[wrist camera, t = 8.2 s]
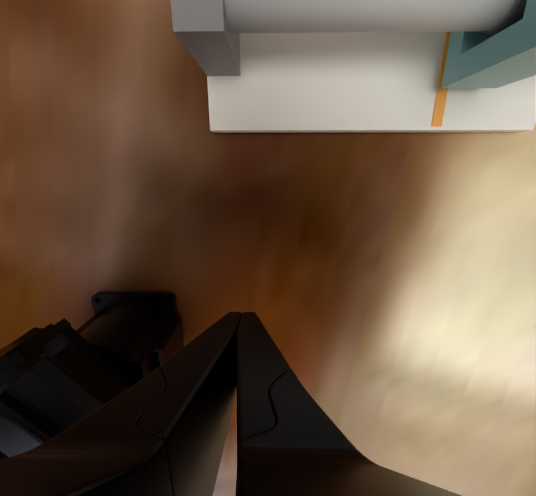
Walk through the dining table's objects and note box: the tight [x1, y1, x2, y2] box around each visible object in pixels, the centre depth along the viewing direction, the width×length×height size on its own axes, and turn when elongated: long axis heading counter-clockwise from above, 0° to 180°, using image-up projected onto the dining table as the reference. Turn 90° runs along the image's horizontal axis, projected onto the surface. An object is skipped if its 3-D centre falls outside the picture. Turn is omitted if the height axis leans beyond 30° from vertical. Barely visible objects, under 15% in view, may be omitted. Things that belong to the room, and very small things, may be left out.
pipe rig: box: [171, 0, 536, 133], centre depth 13 cm, size 20×10×7 cm, turn 90°
